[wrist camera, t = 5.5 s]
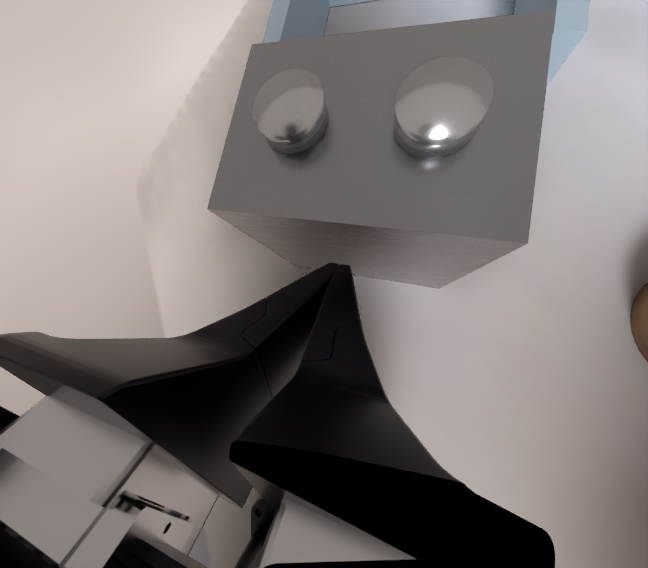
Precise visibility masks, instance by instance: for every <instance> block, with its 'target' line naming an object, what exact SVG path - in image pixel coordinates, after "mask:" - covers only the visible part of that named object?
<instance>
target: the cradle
mask: <svg viewBox="0 0 648 568" xmlns="http://www.w3.org/2000/svg"><path fill="white" fill-rule="evenodd" d="M367 1H374V0H274V2H273V5H272V9H271V13H270V17H269V20H268V24H267V28H266V31H265V35H264V39H263V43H269V42H278V41H287V40H296V39H304V38H313V37H322V36H323V35H324V31H325V26H326V22H327V18H328V14H329V10H330V7H333V6H340V5H347V4H354V3H360V2H367ZM589 4H590V0H515V5H514V12H513V15H515V14H523V13H532V12H541V11H550V10H555V18H554V26H553V35H552V43H551V51H550V60H549V68H548V77H547V85H548V83H549V82H550V81H551V79H552V78H553V77H554V75H555V74H556V72H557V71H558V70H559V68H560V67H561V65H562V64H563V63H564V61H565V60H566V58H567V57H568V56H569V54H570V53H571V51H572V50H573V49H574V47H575V46H576V45H577V43H578V42H579V40H580V39H581V38H582V36H583V35H584V33H585V32H586V31H587V24H588V14H589ZM547 85H546V86H547Z"/></svg>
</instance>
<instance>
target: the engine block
mask: <svg viewBox="0 0 648 568" xmlns="http://www.w3.org/2000/svg"><path fill="white" fill-rule="evenodd" d="M554 18H555V10H550V11H541V12H532V13H523V14H515V15H506V16H497V17H488V18H480V19H471V20H462V21H453V22H445V23H436V24H427V25H418V26H409V27H401V28H392V29H383V30H374V31H366V32H357V33H348V34H339V35H331V36H322V37H313V38H304V39H296V40H287V41H278V42H269V43H261V44H252V47H251V51H250V54H249V58H248V62H247V65H246V69H245V73H244V76H243V80H242V84H241V87H240V91H239V95H238V98H237V102H236V106H235V109H234V113H233V117H232V120H231V124H230V128H229V131H228V135H227V139H226V142H225V146H224V150H223V153H222V157H221V161H220V164H219V168H218V172H217V175H216V179H215V183H214V186H213V190H212V194H211V197H210V201H209V205H208V208H207V209H208V210H210V211H211V212H213V213H214V214H216V215H218V216H219V217H221V218H222V219H224V220H225V221H227V222H228V223H230V224H232V225H233V226H235V227H236V228H238V229H239V230H241V231H242V232H244V233H246V234H247V235H249V236H250V237H252V238H253V239H255V240H256V241H258V242H260V243H261V244H263V245H264V246H266V247H267V248H269V249H271V250H272V251H274V252H275V253H277V254H278V255H280V256H281V257H283V258H285V259H286V260H288V261H289V262H291V263H292V264H294V265H298V266H305V267H311V268H317V269H319V268H320V267H322V266H324V265H326V264H328V263H330V262H332V263H338V264H345V265H350V266H351V271H352V274H353V275H359V276H365V277H371V278H377V279H384V280H390V281H396V282H402V283H408V284H414V285H420V286H426V287H432V288H438V289H439V288H441V287H443V286H445V285H447V284H449V283H451V282H453V281H455V280H457V279H459V278H461V277H463V276H465V275H467V274H468V273H470V272H472V271H474V270H476V269H478V268H480V267H482V266H484V265H486V264H488V263H490V262H492V261H494V260H496V259H498V258H500V257H502V256H504V255H506V254H508V253H510V252H511V251H513V250H515V249H517V248H519V247H521V246H523V245H525V244H527V243H528V237H529V228H530V220H531V211H532V203H533V194H534V186H535V178H536V169H537V161H538V152H539V144H540V136H541V127H542V119H543V110H544V102H545V93H546V85H547V77H548V68H549V60H550V51H551V43H552V35H553V26H554Z"/></svg>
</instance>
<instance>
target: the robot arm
mask: <svg viewBox="0 0 648 568" xmlns="http://www.w3.org/2000/svg"><path fill="white" fill-rule="evenodd" d="M0 367H2V368H4V369H5V370H7V371H8V372H10V373H12V374H13V375H15V376H16V377H18V378H19V379H21V380H22V381H24V382H26V383H27V384H29V385H30V386H32V387H34V388H35V389H37V390H38V391H40V392H42V393H43V394H45V395H46V396H45V397H44V398H43V399H42V400H40V401H39V402H38V403H37V404H35V405H34V406H33V407H31V408H30V409H29V410H28V411H26V412H25V413H24V414H22V415H21V416H19V415H16V414H15V413H13V412H11V411H9V410H7V409H5V408H3V407H1V406H0V568H207V567H206V566H204V565H202V564H201V563H199V562H197V561H196V560H194V559H192V558H190V557H189V556H188V554H189V552H190V551H191V549H192V547H193V545H194V543H195V541H196V538H197V537H198V535H199V533H200V531H201V529H202V527H203V525H204V523H205V521H206V519H207V517H208V515H209V514H210V512H211V510H212V508H213V506H214V504H215V502H216V500H217V498H218V496H219V497H221V498H223V499H225V500H227V501H229V502H231V503H233V504H235V505H237V506H239V507H241V508H243V506H244V504H245V502H246V500H247V498H248V496H249V493H250V491H251V489H252V487H254V488H255V489H256V491H257V492H258V493H259V494H260V495H261V496H262V497H263V498H264V499H258V500H257V501H256V503H255V504H254V505H253V507H252V511H251V540H250V541H249V543H248V545H247V546H246V548H245V550H244V552H243V553H242V555H241V557H240V558H239V560H238V562H237V564H236V565H235V567H234V568H555V551H554V545H553V542H552V540H551V538H550V536H549V535H548V533H547V532H546V531H545V530H543V529H542V528H540V527H538V526H536V525H534V524H532V523H530V522H529V521H527V520H525V519H523V518H521V517H519V516H517V515H515V514H513V513H511V512H510V511H508V510H506V509H504V508H502V507H500V506H498V505H496V504H494V503H492V502H490V501H489V500H487V499H485V498H483V497H481V496H479V495H477V494H475V493H474V492H473V491H472V490H470V489H469V488H468V487H466V485H465V484H463V483H462V482H460V481H459V480H457V479H456V478H454V477H453V476H452V475H450V474H449V473H448V472H447V471H446V470H444V469H443V468H442V467H441V466H440V465H439V464H438V463H437V462H436V460H435V459H434V458H433V457H432V456H431V454H430V453H429V452H428V451H427V449H426V448H425V447H424V446H423V444H422V443H421V442H420V441H419V439H418V438H417V437H416V436H415V434H414V433H413V432H412V431H411V429H410V428H409V427H408V426H407V424H406V423H405V422H404V421H403V419H402V418H401V417H400V416H399V414H398V413H397V412H396V411H395V409H394V408H393V407H392V405H391V404H390V402H389V400H388V398H387V396H386V394H385V392H384V389H383V387H382V384H381V382H380V379H379V376H378V374H377V371H376V368H375V366H374V363H373V360H372V358H371V355H370V352H369V350H368V347H367V344H366V341H365V337H364V333H363V329H362V324H361V319H360V314H359V309H358V303H357V298H356V292H355V287H354V282H353V276H352V271H351V266H350V265H345V264H338V263H332V262H330V263H328V264H326V265H324V266H322V267H320V268H319V269H317V270H315V271H313V272H311V273H309V274H308V275H306V276H304V277H302V278H300V279H299V280H297V281H295V282H293V283H291V284H289V285H288V286H286V287H284V288H282V289H280V290H279V291H277V292H275V293H273V294H271V295H269V296H268V297H266V298H264V299H262V300H260V301H258V302H257V303H255V304H253V305H251V306H249V307H247V308H245V309H243V310H241V311H239V312H237V313H234V314H232V315H230V316H228V317H226V318H224V319H221V320H219V321H217V322H215V323H212V324H210V325H208V326H206V327H203V328H201V329H199V330H197V331H194V332H192V333H189V334H186V335H183V336H179V337H173V338H145V339H144V338H142V339H141V338H140V339H67V338H58V337H53V336H49V335H46V334H43V333H40V332H23V333H9V334H1V335H0ZM258 508H260V509H261V510H262V512H260V511H259V509H258Z"/></svg>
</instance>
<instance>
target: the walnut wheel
mask: <svg viewBox="0 0 648 568" xmlns="http://www.w3.org/2000/svg"><path fill="white" fill-rule="evenodd" d="M631 329H632V334H633V337H634V340H635V343H636V345H637V347H638V349H639V351H640V352H641V354H642V355H643V357H644V358H645V360H646V361H647V362H648V283H647V284H645V285H644V287H643V288H642V289H641V290H640V291H639V293H638V295H637V297H636V298H635V300H634V303H633V306H632V310H631Z"/></svg>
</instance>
